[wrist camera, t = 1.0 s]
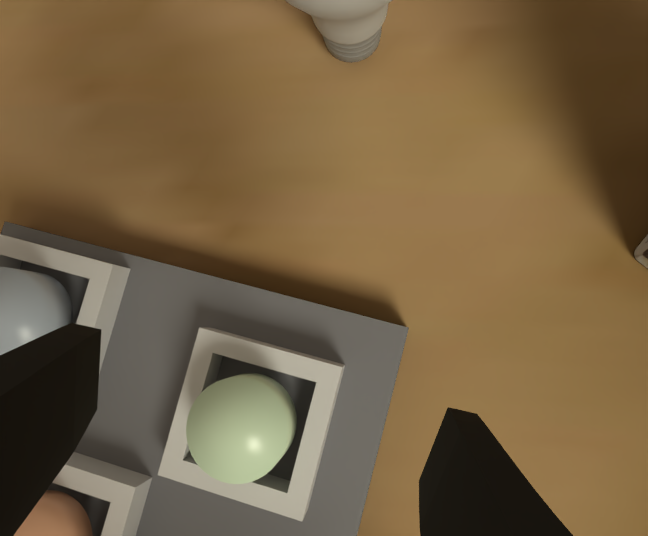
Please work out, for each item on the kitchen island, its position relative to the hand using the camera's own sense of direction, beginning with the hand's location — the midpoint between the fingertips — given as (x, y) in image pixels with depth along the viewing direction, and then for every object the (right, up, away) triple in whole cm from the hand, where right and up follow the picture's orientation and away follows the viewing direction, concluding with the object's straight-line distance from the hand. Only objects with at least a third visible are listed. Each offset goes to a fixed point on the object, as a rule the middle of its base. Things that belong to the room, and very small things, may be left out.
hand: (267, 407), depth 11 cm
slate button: (-11, +1, +11) cm, 16 cm away
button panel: (-6, -5, +13) cm, 15 cm away
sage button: (-2, -3, +10) cm, 10 cm away
